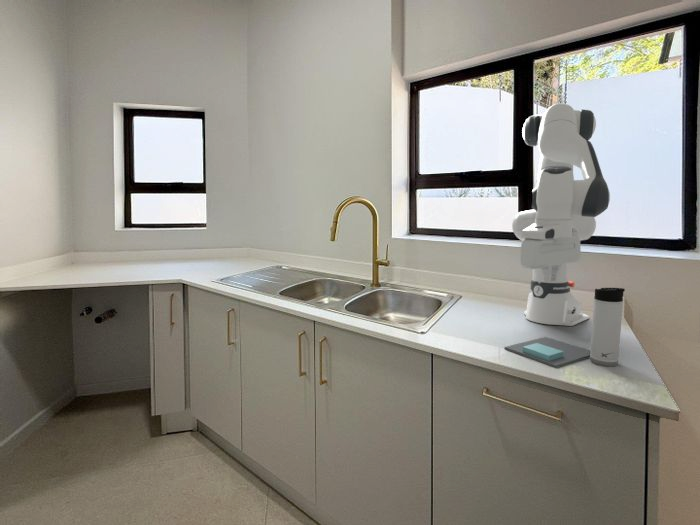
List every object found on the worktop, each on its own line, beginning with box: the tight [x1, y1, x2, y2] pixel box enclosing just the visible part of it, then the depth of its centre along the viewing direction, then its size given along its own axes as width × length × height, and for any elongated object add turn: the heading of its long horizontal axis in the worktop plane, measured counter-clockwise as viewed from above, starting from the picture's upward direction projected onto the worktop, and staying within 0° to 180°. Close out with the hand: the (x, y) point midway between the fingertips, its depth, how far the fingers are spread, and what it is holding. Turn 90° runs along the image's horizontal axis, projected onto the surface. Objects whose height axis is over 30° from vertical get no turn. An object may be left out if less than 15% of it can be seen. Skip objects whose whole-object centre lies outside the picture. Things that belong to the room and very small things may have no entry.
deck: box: [523, 343, 564, 361], centre depth 112 cm, size 1×8×6 cm
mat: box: [504, 336, 591, 369], centre depth 115 cm, size 18×16×1 cm
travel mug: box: [589, 287, 626, 367], centre depth 106 cm, size 6×7×20 cm
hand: (550, 281), depth 110 cm, fingers closed
